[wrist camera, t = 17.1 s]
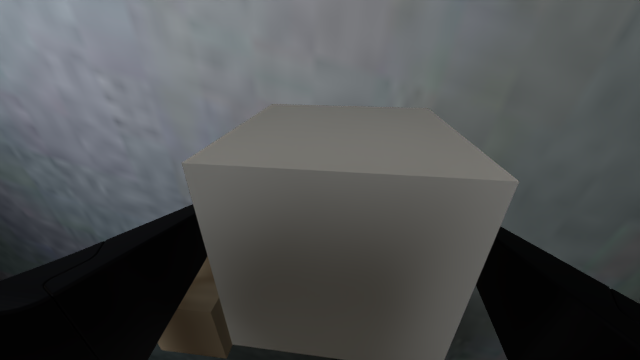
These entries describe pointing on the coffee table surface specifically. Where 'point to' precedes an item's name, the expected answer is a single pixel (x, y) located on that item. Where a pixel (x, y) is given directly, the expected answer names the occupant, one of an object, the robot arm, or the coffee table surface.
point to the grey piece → (346, 229)
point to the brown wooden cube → (199, 320)
